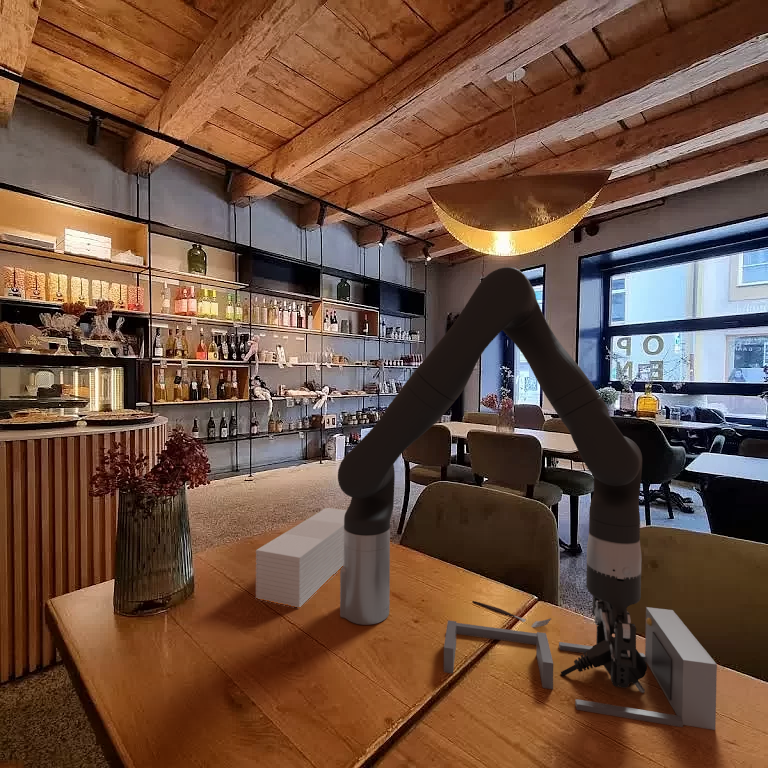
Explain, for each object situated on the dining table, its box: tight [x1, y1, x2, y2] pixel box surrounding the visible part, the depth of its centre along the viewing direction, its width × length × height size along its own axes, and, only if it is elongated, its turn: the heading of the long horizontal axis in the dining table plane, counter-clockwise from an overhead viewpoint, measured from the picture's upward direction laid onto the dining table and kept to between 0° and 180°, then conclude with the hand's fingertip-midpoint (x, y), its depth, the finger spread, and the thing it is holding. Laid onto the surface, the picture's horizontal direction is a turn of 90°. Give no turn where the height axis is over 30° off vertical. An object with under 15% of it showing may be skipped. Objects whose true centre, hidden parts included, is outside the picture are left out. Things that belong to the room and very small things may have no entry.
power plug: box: [560, 640, 648, 694], centre depth 68 cm, size 6×8×12 cm
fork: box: [472, 600, 552, 629], centre depth 87 cm, size 3×16×2 cm, turn 52°
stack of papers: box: [255, 507, 347, 608], centre depth 105 cm, size 32×11×11 cm, turn 160°
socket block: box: [558, 606, 718, 731], centre depth 68 cm, size 18×15×9 cm
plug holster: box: [443, 620, 554, 690], centre depth 74 cm, size 17×12×4 cm
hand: (611, 666), depth 68 cm, fingers open, 8 cm apart
